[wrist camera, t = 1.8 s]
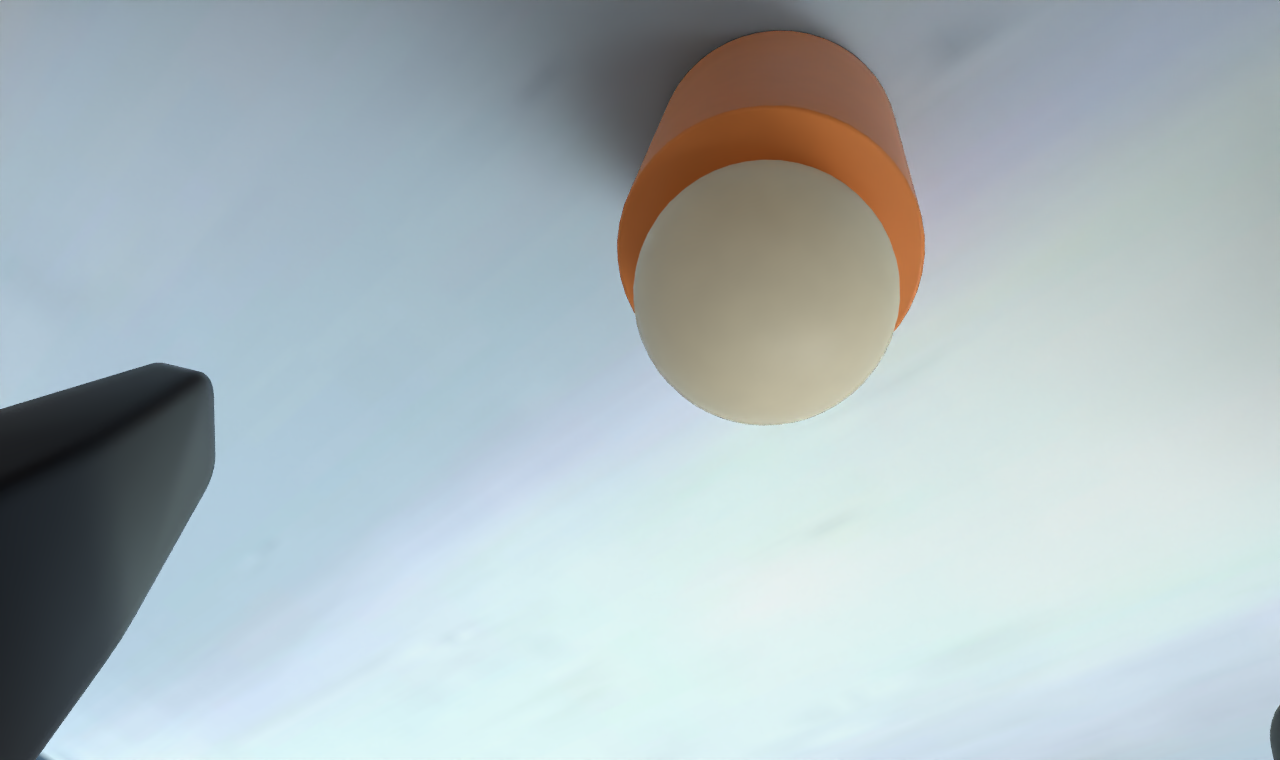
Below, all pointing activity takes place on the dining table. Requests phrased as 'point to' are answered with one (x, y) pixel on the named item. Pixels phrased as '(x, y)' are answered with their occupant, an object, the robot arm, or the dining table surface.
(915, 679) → the dining table surface
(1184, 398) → the dining table surface
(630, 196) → the toy
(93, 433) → the robot arm
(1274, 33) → the dining table surface
